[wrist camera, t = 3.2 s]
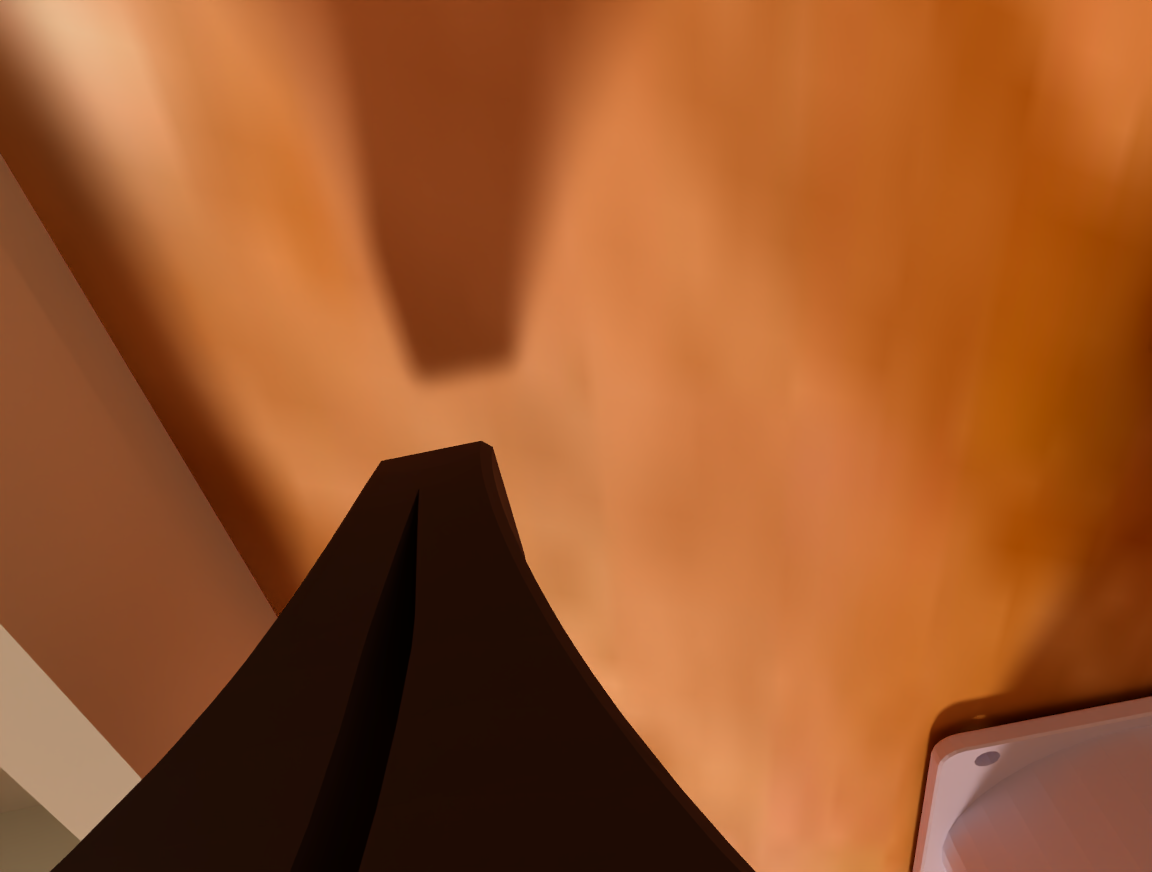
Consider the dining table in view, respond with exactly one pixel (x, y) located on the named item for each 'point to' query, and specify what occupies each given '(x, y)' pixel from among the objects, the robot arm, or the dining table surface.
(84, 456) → the tray
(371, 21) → the dining table surface
